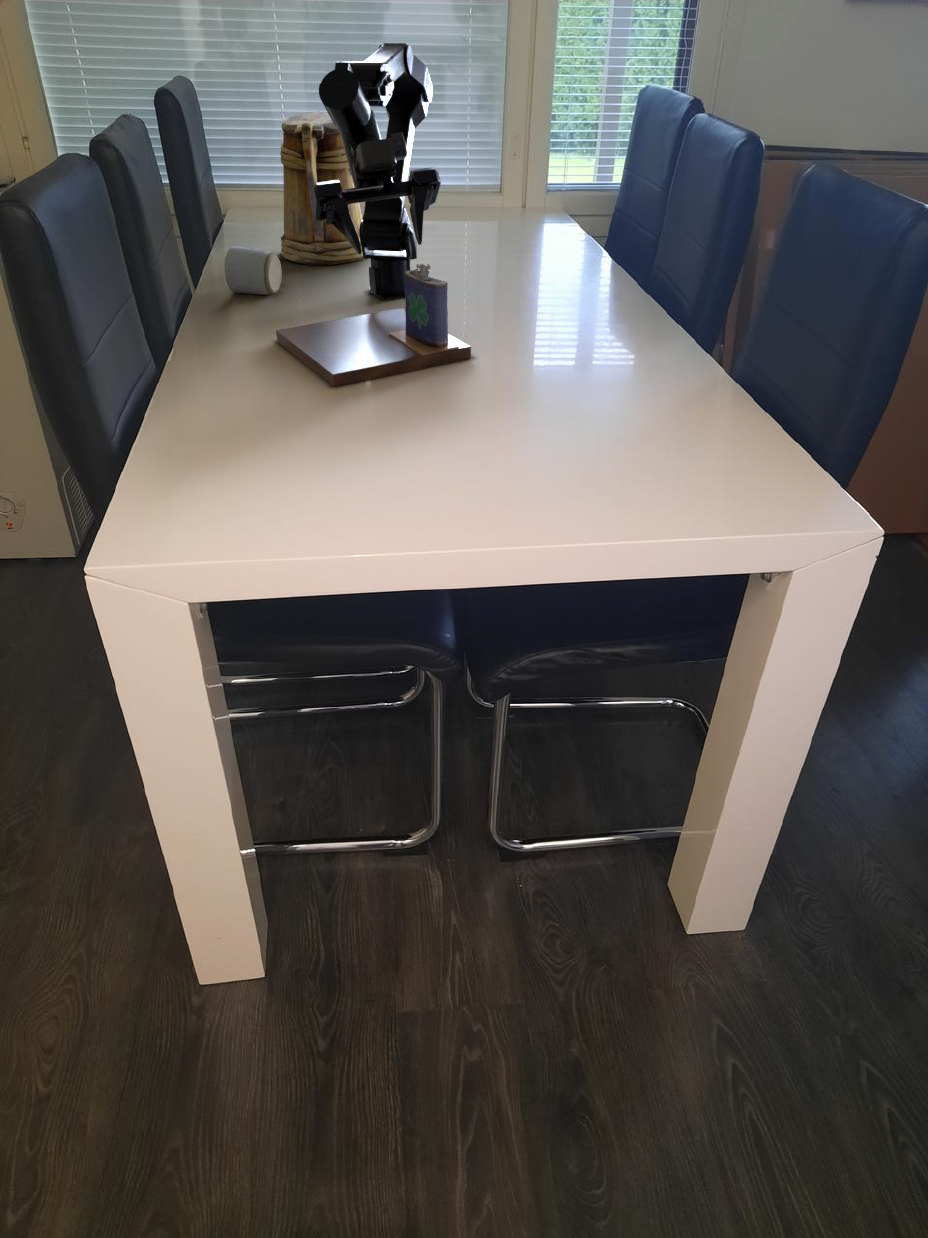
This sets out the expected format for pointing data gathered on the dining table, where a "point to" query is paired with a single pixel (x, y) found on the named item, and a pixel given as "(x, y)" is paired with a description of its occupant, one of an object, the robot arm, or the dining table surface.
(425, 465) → the dining table surface
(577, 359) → the dining table surface
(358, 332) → the serving board
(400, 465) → the dining table surface
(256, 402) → the dining table surface
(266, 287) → the ceramic mug
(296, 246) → the tankard
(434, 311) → the flask
